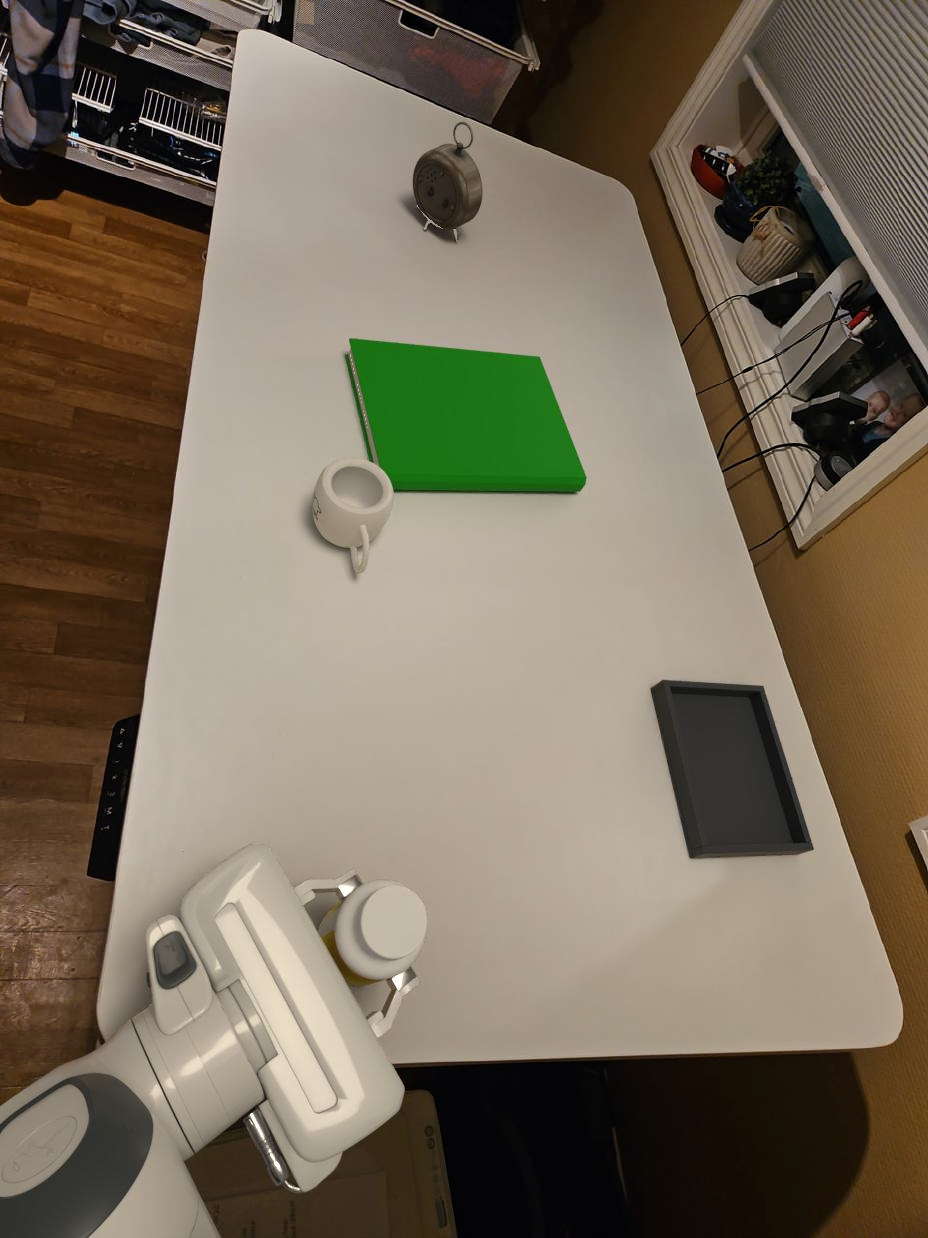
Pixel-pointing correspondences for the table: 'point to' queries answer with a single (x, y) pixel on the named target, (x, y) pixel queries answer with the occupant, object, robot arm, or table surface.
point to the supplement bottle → (375, 932)
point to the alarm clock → (448, 184)
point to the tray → (729, 771)
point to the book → (461, 419)
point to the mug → (352, 505)
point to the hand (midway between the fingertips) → (384, 923)
